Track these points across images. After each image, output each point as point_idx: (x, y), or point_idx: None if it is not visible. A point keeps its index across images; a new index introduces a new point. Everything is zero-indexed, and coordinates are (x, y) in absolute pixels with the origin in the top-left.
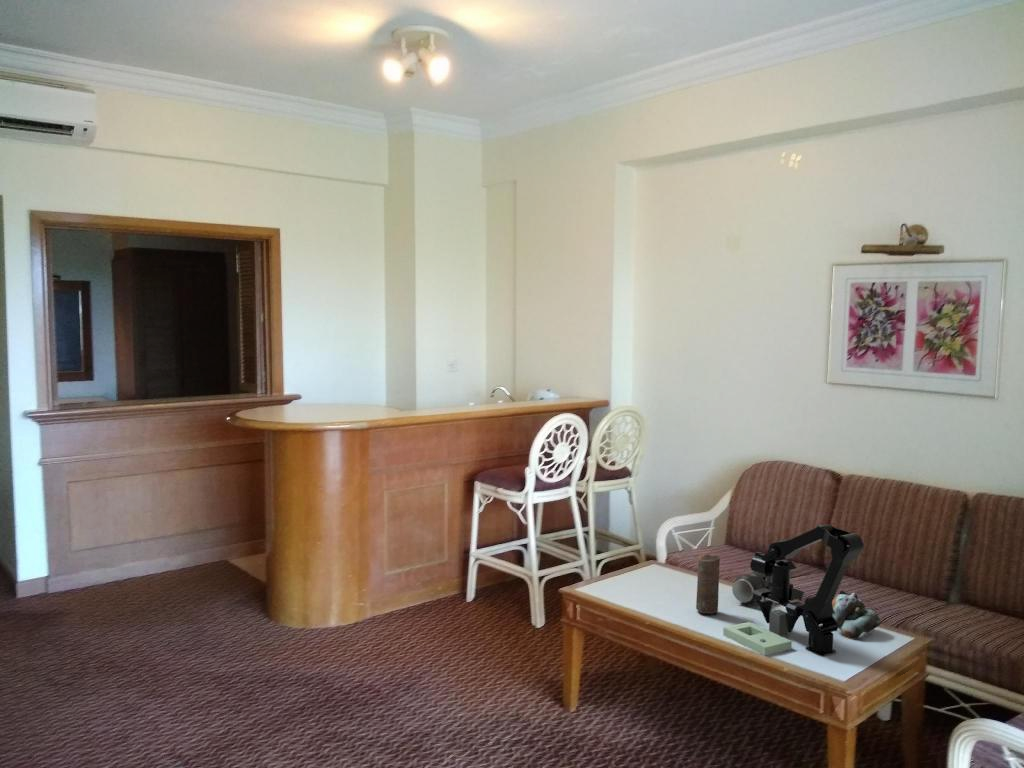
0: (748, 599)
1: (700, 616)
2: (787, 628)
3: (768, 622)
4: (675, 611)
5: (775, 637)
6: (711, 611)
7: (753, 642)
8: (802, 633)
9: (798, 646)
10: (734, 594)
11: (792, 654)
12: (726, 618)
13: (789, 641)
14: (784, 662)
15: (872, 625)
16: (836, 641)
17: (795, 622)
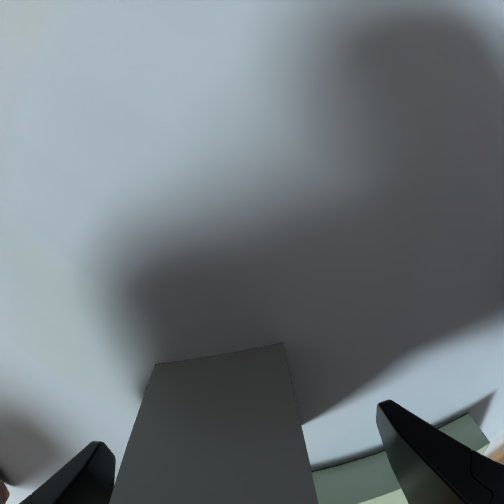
0: None
1: (21, 493)
2: (392, 462)
3: (110, 456)
4: (7, 500)
5: (406, 500)
6: (2, 490)
7: None
8: (285, 166)
9: (473, 366)
10: None
11: (492, 419)
12: (8, 457)
13: (483, 452)
14: (496, 451)
15: None
16: (492, 32)
17: (478, 458)
